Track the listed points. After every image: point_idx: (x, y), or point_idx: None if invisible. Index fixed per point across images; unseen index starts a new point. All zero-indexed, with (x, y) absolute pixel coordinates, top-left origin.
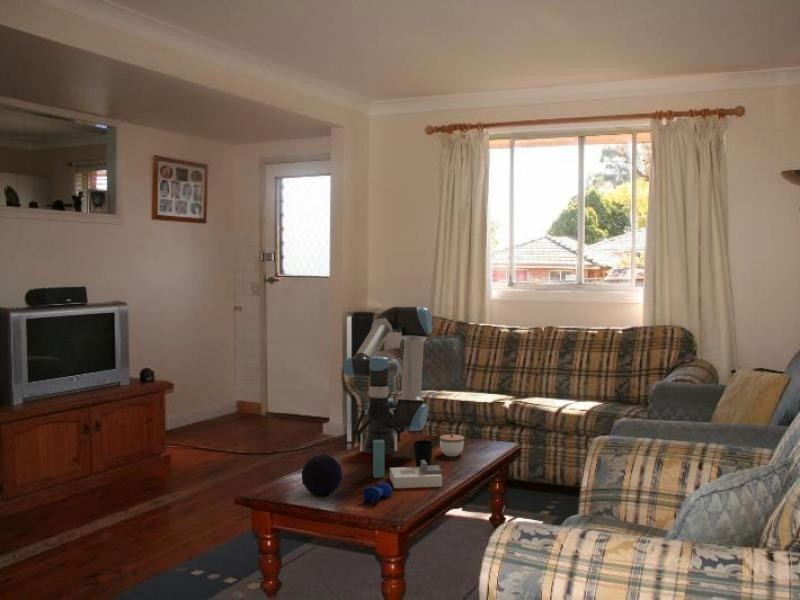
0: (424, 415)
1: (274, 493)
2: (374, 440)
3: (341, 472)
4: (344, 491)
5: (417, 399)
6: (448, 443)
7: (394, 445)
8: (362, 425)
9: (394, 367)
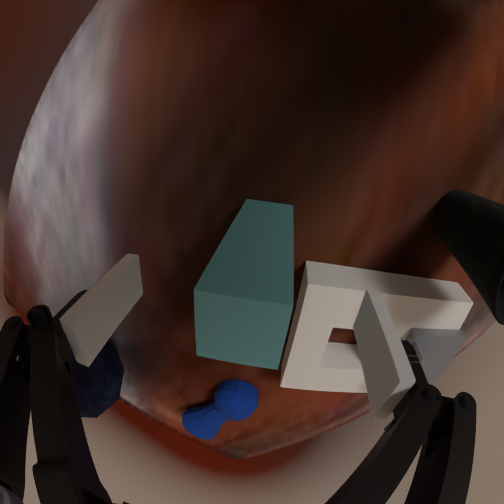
0: None
1: (26, 294)
2: (203, 309)
3: (113, 392)
4: (141, 340)
5: None
6: None
7: (371, 310)
8: (36, 391)
9: None
